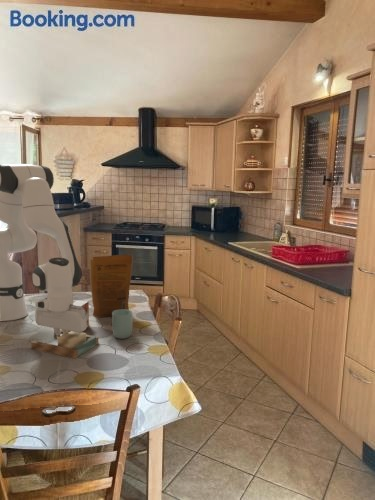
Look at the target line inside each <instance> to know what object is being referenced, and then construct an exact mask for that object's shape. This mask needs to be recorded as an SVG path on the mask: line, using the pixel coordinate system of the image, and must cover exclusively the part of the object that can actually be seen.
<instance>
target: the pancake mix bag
mask: <svg viewBox="0 0 375 500" xmlns="http://www.w3.org/2000/svg"><path fill="white" fill-rule="evenodd" d="M133 258H134V255H132V254H113V255H102V256H92V259H91V258H90V259H89V265H88V267H89V283H90V290H91V291H90V292H91V300H92V306H93V311H92V312H93V313H92V316H94V317H97V318H109V317H112V312H113V311H115V310H120V309H127V310H130V309H129V298H130V286H131V281H132V272H133V271H132V270H133V260H134V259H133Z"/></svg>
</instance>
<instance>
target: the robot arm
mask: <svg viewBox="0 0 375 500" xmlns="http://www.w3.org/2000/svg"><path fill="white" fill-rule="evenodd" d="M54 179H55V178H54V174H53V172H52V170H51V168H50V167H47V166H46V165H45V166H44V165H41V164H40V165H38V164H29V163H12V164H11V163H10V164H9V163H1V164H0V222H2V223H4V224H7V226H6V227H3V228H2V227H0V322H5V321H8V322H9V321H14V320H15V321H16V320H19V319H23V318H24V317H27V316H28V315H29V313H28V307H27V304H26V301H25V300H26V299H25V294H24V292H25V285H24V282H23V268H22V266H21V265H20V264H19V263H18V262H16V261H14V260H11V259H9V254H14V253H15V254H16V253H24V252H27V251H30V250H32V249H34V248H35V247H36V245H37V243H38V236H37V234H36V232H38V233H40V234H44V235H48V236H50V237H51V238H53V239H54V240H55V241H56V244H57V246H58V250H59V252H60V257H51V258H50V259H48V260H47V262H46V263H44V264H40V265H36V266H35V267H34V269H33V270H32V272H31V284H32V286H33V287H34V288H35V289H37V290H39V291H46V292H47V295H46V297H45V298H42V299H39V300H38V301H35V307H36V309H35V313H34V314H35V323H36V325H38V326H41V327H47V328H53V333H54V332H55V334H56V335H57V337H56V340H57V341H58V337H59V336H61V335H64V334H66V333H68V331H73V332H79V333H81V332H83V333H84V331H86V330H87V328H88V326H87V322H86V316H85V310H84V309H83V308H82V307H81V306H75V305H73V303H74V293H73V289H72V288H74V287H77V286H78V284H80V281H81V280H82V278H83V271H82V268H81V266H80V264H79V261H78V259H77V256H76V253H75V249H74V246H73V243H72V239H71V237H70V234H69V231H68V227H67V225H66V223H65V222H64V221H63V220H61V219H60V217H59V216H58V214H57V212H56V210H55V203H54V198H53V193H52V191H51V189H52V187H53V186H54V182H55V181H54ZM35 231H36V232H35ZM60 330H62V332H63V334H61V332H60Z"/></svg>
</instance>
